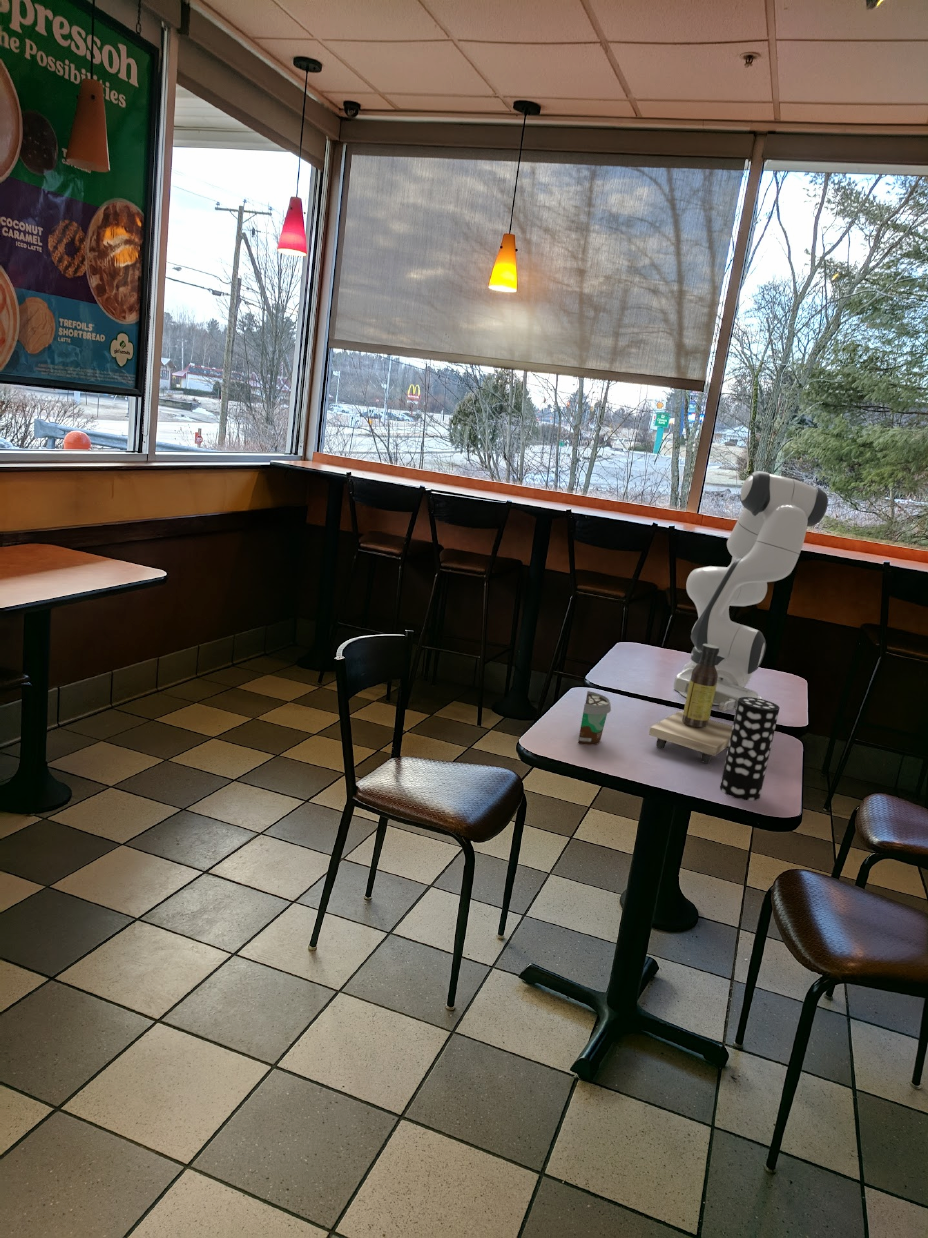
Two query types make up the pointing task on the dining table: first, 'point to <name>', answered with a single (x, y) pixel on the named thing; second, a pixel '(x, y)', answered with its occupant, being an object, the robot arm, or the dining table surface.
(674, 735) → the dolly
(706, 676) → the sauce bottle
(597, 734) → the food container
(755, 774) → the white-spotted black cylinder
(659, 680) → the dining table surface
